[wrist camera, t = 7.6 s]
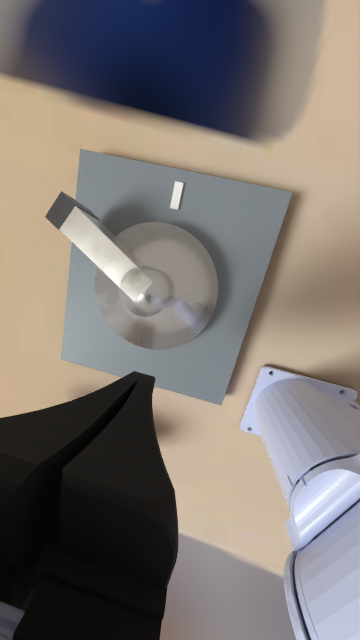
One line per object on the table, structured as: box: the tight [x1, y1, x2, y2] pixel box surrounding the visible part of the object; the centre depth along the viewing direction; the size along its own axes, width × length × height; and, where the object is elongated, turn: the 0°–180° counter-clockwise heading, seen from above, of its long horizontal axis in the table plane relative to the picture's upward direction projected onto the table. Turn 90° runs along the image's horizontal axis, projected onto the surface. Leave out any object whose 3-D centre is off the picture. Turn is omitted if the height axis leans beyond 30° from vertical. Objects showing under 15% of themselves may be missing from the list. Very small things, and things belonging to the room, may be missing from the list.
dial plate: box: [61, 149, 293, 405], centre depth 18 cm, size 18×20×2 cm
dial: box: [45, 191, 218, 350], centre depth 15 cm, size 11×14×4 cm
